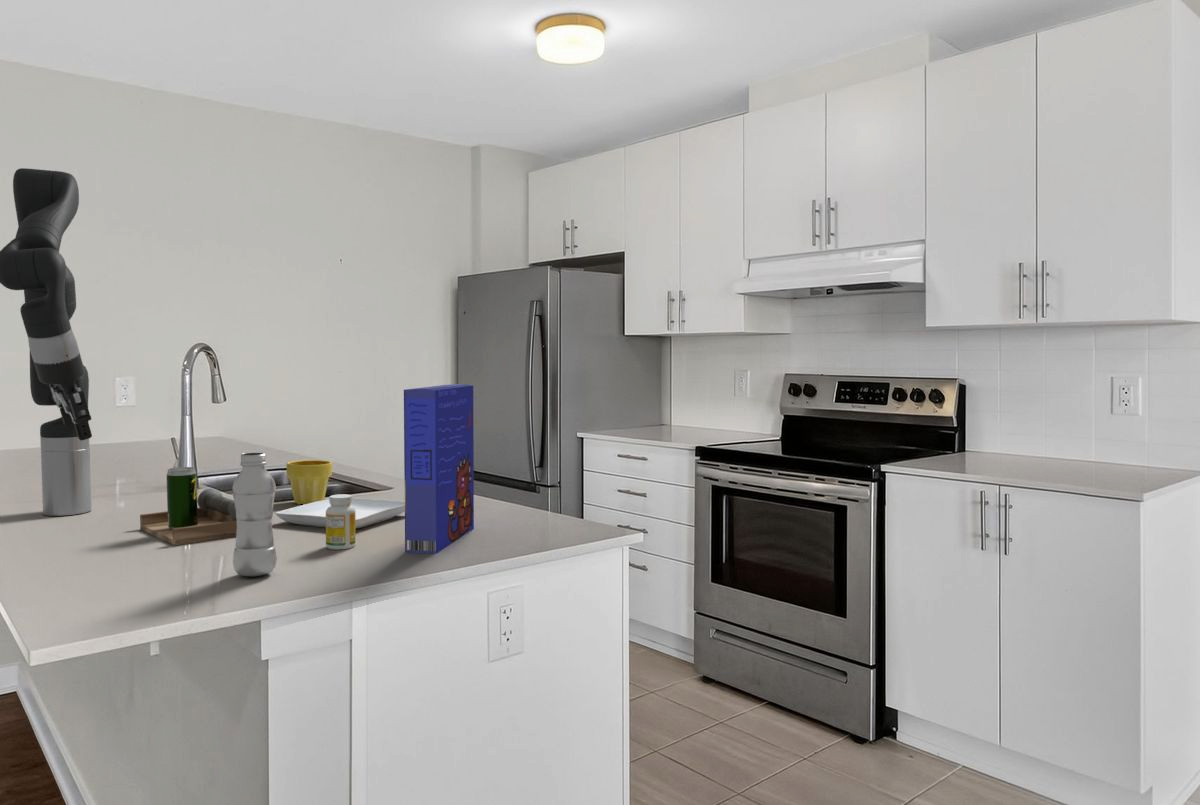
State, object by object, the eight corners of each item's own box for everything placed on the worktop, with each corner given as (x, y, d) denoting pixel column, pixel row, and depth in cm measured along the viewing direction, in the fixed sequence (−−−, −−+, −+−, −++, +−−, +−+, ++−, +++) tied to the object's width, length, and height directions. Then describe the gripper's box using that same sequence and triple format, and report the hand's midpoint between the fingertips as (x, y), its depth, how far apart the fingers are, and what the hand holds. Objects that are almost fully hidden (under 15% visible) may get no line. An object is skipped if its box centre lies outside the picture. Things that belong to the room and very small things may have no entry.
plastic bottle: (240, 570, 142) (238, 451, 141) (282, 570, 143) (280, 451, 141) (227, 581, 136) (224, 456, 134) (270, 580, 136) (268, 456, 135)
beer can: (169, 532, 166) (168, 471, 166) (166, 527, 171) (164, 468, 170) (200, 529, 169) (198, 469, 169) (195, 524, 174) (194, 466, 173)
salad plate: (272, 527, 179) (271, 510, 178) (338, 509, 198) (338, 495, 198) (355, 535, 171) (354, 518, 170) (415, 516, 190) (415, 501, 190)
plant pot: (339, 499, 209) (338, 459, 209) (321, 507, 199) (321, 465, 199) (298, 498, 210) (298, 459, 210) (279, 505, 200) (278, 464, 200)
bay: (140, 529, 174) (139, 495, 173) (220, 518, 185) (219, 486, 185) (175, 545, 160) (174, 508, 159) (259, 533, 171) (258, 498, 170)
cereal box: (446, 527, 177) (445, 383, 175) (473, 528, 176) (473, 383, 174) (405, 552, 156) (403, 388, 154) (436, 553, 155) (435, 388, 153)
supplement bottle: (334, 551, 156) (333, 499, 155) (320, 546, 160) (320, 495, 159) (361, 547, 160) (360, 496, 159) (347, 542, 163) (347, 492, 163)
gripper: (90, 359, 157) (111, 437, 164) (65, 338, 165) (86, 413, 173) (45, 371, 152) (68, 450, 159) (22, 349, 161) (45, 425, 168)
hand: (78, 431), depth 166 cm, fingers open, 8 cm apart
